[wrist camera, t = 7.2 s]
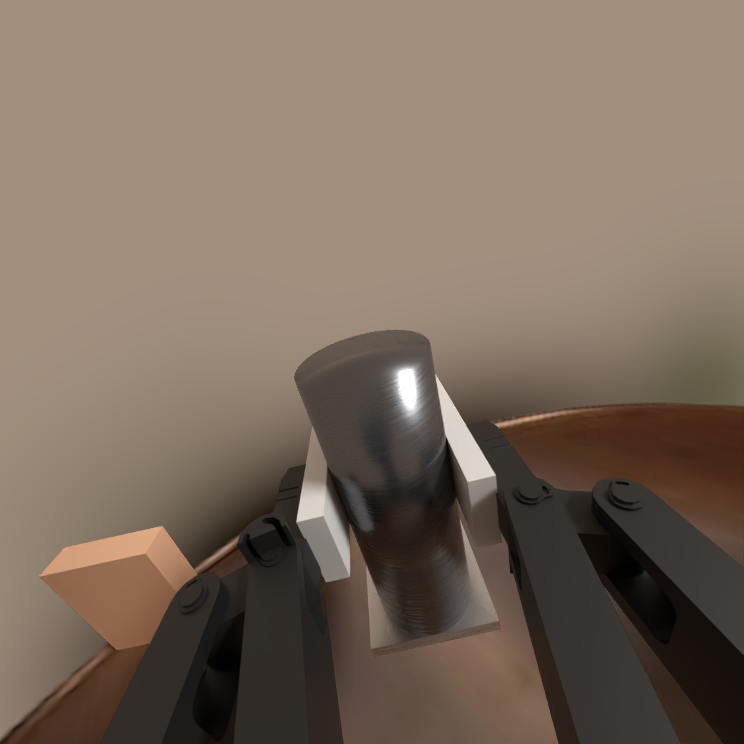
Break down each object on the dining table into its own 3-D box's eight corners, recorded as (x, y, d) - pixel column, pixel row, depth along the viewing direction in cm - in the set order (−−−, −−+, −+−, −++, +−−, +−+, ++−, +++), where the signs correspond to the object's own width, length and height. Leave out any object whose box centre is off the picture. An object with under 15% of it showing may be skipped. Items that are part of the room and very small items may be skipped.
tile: (217, 601, 25) (162, 525, 22) (207, 631, 24) (145, 553, 20) (133, 619, 26) (65, 546, 22) (117, 650, 24) (38, 576, 20)
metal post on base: (434, 457, 21) (401, 286, 16) (500, 629, 12) (469, 362, 7) (362, 474, 21) (308, 310, 17) (374, 656, 12) (261, 413, 8)
